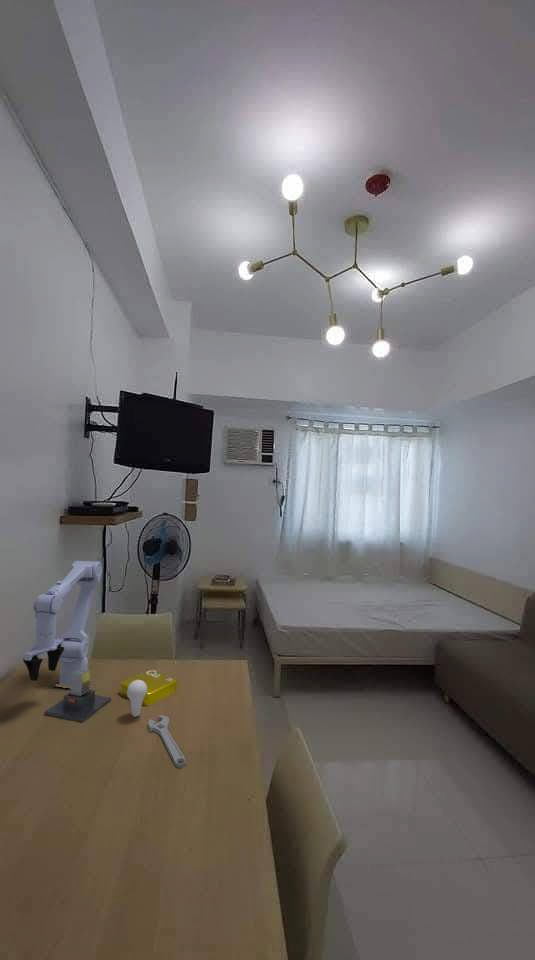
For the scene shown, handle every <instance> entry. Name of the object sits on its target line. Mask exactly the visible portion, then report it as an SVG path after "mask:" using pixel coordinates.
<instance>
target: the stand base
mask: <svg viewBox="0 0 535 960" xmlns="http://www.w3.org/2000/svg"><path fill="white" fill-rule="evenodd" d="M110 702H112V697H108V696H102V695H99V694H98V695H97V694H96V690H94V689H90V688H89V692H88V693H86V694H85V695H84V697H82V698H78V697H72V696H70V692H69V693H67V694H64V696H63V699H61V700H60V701H58V702H57V703H55V704H53V705H52V706H51V707H49V708H47V709H46V710H45V711H44V713H43V715H44V714H47V715H46V716H48V715H51V716H50V717H53V716H56V717H55V718H58V717H60V718H59V719H65V720H69V721H74V722H78V723H79V722H80V723H84V722H86V721H87V720H88V719H89V718H91V717H92V716H93V715H95V714H96V713H98V712H99V711H100V710H101V709H103V708H104V707H105V706H106V705H108V704H109V703H110Z"/></svg>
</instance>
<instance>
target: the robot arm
mask: <svg viewBox="0 0 535 960" xmlns="http://www.w3.org/2000/svg"><path fill="white" fill-rule="evenodd" d="M102 572H103V565H102V563H101V561H85V560H83V561H82V560H74V562H73V563H72V564H71V565H70V571H69V572H68V573H67V575H66V576H65V577H64V578H63V580H57V581H56V582H55V584H54V585H52V587H50V588H49V590H47V592H45V593H43V594H40V595H38V596H37V597H36V598H35V600H34V602H33V605H32V609H33V612H34V617H35V619H36V624H35V628H36V629H35V639H34V640H35V642H34V646H33V647H32V648H30V649H29V650H28V651H27V652H25V653H24V654H23V659H22V661H23V663H24V664H25V666H26V669H27V671H28V675H29V679H30V681H35V682H36V681H38V678H39V676H40V675H39V673H40V668H41V664H42V662H43V660H44V659H43V658H39V656H41V655H42V654H44V653H46V654H47V658H48V659H47V662H48V663H47V667H48V671H52V672H55V671H56V668H57V667H58V663H59V661H60V669H59V672H60V673H59V682H60V684H62V685H66V686H71V674H72V672H74V671H76V670H78V669H80V668H82V669H88V670H89V659H88V657H87V655H88V653H89V648H90V647H89V646H90V636H88V634H87V633H86V632H85V628H86V623H87V620H88V618H89V617H88V616H89V612H90V608H91V604H92V600H93V597H94V593H95V589H96V586H98V585H99V584H100V582H101V577H102V575H103V573H102ZM75 584H78V585H79V587H80V589H79V593H78V597H77V601H76V604H75V609H74V611H73V615H72V618H71V619H72V620H71V621H70V622H71V623H70V625H69V630H67V631H66V632H65V633H63V634H61V636H60V638H57V639H56V634H57V633H56V631H57V616H58V612H59V611H60V609H61V607H62V604H63V603H64V601H65V599H66V598H67V597H68V595H69V594H70V593H71V592H72V587H73V586H74V585H75Z"/></svg>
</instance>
